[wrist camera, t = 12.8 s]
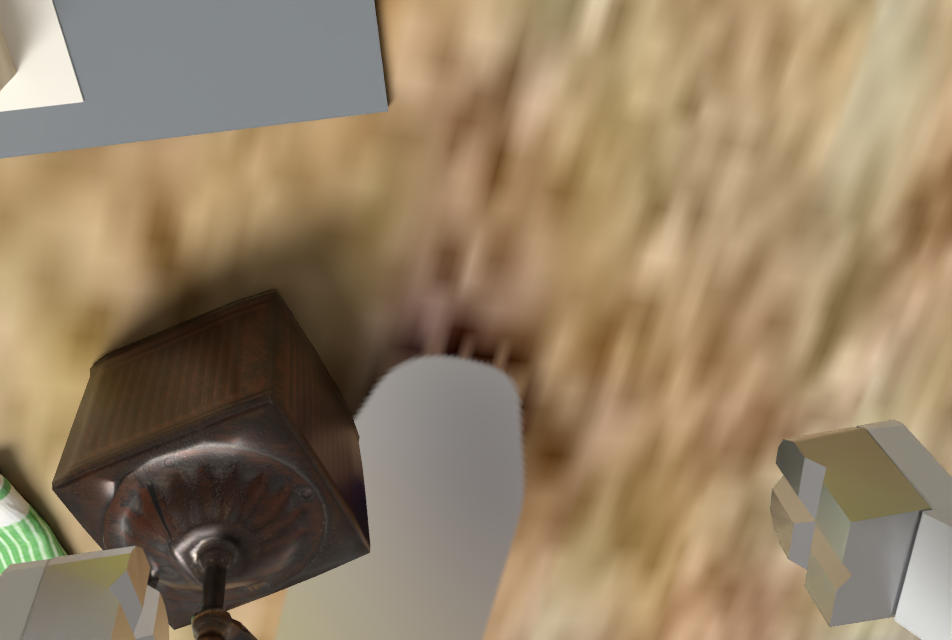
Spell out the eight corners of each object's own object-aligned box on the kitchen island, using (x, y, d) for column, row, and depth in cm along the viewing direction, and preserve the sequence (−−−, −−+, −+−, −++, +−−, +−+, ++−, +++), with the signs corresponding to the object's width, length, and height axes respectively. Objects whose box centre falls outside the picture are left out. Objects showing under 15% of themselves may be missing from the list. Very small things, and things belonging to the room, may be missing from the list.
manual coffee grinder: (73, 364, 45) (-46, 674, 30) (278, 281, 44) (262, 554, 29) (227, 561, 53) (195, 879, 38) (401, 493, 53) (438, 790, 37)
